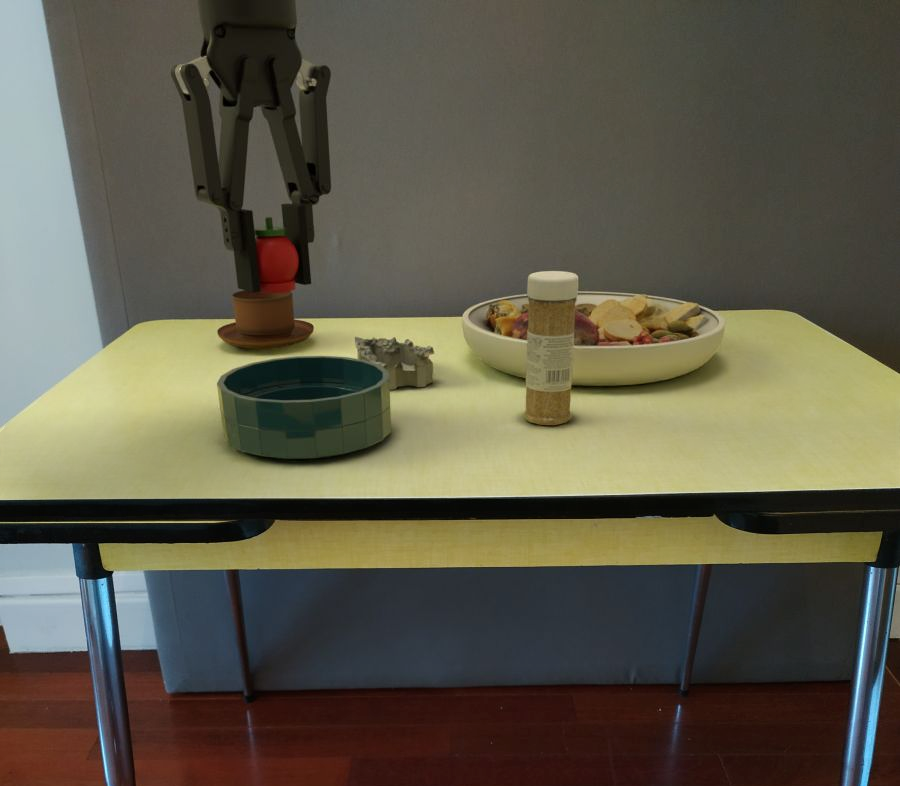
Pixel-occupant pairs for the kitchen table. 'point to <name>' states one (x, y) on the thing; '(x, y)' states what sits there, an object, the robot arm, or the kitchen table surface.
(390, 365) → the egg carton
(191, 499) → the kitchen table surface
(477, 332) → the bowl
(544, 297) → the spice jar
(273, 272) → the tomato shaped ketchup bottle
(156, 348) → the kitchen table surface
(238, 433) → the dessert bowl
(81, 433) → the kitchen table surface
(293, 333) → the cup and saucer
